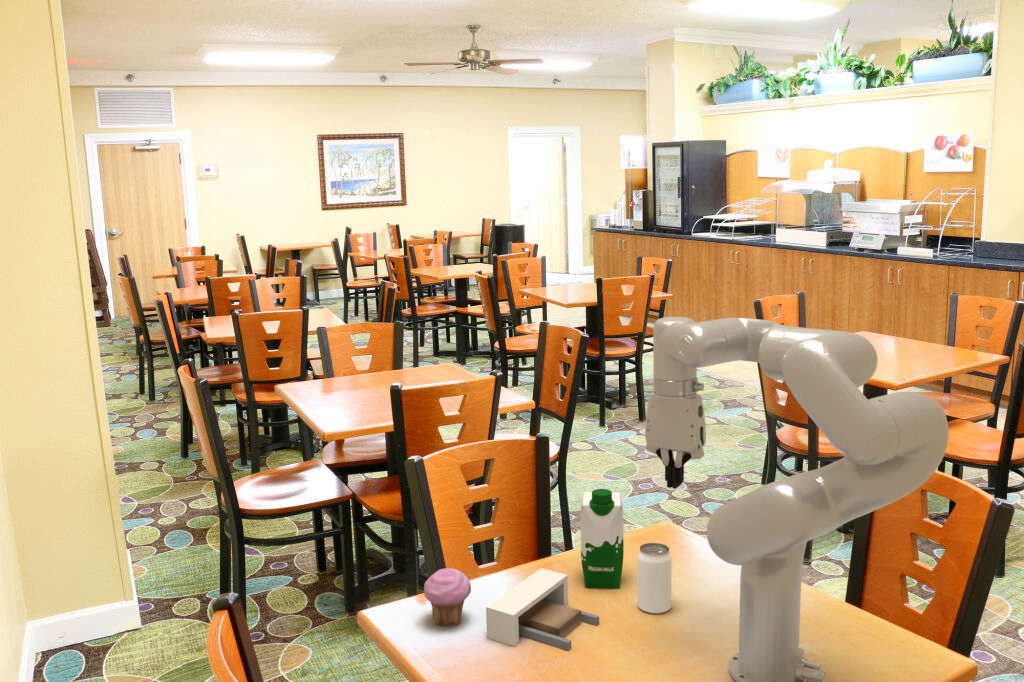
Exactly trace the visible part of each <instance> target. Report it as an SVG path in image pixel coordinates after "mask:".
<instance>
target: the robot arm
mask: <svg viewBox="0 0 1024 682" xmlns="http://www.w3.org/2000/svg"><path fill="white" fill-rule="evenodd" d="M652 330H653V335H652V336H653V337H652V338H653V339H652V340H653V342H652V343H653V345H652V346H653V349H652V351H653V354H652V355H653V357H652V358H653V361H652V362H653V367H652V368H653V371H652V372H653V374H652V375H653V378H652V379H653V386H652V387H653V390H652V392H650V394H649V396H648V397H649V398H648V401H647V403H648V404H647V408H646V409H647V410H646V417H645V429H644V432H645V433H644V434H645V436H644V439H645V443H646V445H645V450H646V451H647V452H650V453H652V454H655V455H656V456H657V457H658V458H659V459H660V461H661V462H662V465H663V466H664V481H666V487H667V489H668V488H669V489H671V488H672V489H675V490H676V489H678V488H679V487H680V486H681V485H682V484H684V483H683V482H684V480H685V464H686V463H688V462H689V461H690V460H699V459H702V458H703V457H705V452H704V448H703V447H704V446H705V445H706V443H707V440H706V439H707V433H706V432H707V431H706V416H705V410H704V409H705V408H704V403H703V398H702V395H701V393H698V392H700V391H701V392H703V391H704V390H705V384H704V383H703V382H700V381H699V380H698V379H699V378H698V377H697V376H698V375H697V373H698V372H697V371H698V369H699V368H701V369H702V368H706V367H710V366H711V367H712V366H715V365H719V364H724V363H731V362H737V361H738V362H739V361H744V362H750V363H751V362H753V363H756V364H757V363H758V364H759V367H760V368H761V370H762V371H763V373H764V374H765V376H766V377H768V378H769V379H772V380H774V381H781V382H785V384H786V386H787V388H788V390H789V391H790V393H791V394H792V396H793V397H794V399H795V400H796V401H797V402H798V404H799V405H800V407H801V408H802V409H803V410H804V411H805V413H806V414H807V415H808V416H809V418H810V419H811V420H812V421H813V422H814V424H815V425H816V426H817V428H818V429H819V430H820V431H821V433H822V434H823V435H824V436H825V437H826V438H827V440H828V441H829V443H830V444H831V445H832V446H833V447H834V448H835V450H837V452H838V453H840V454H841V455H842V456H843V457H841V459H838V460H836V461H834V462H831V463H829V464H827V465H824V466H822V467H819V468H816V469H812V470H808V471H803V472H800V473H799V472H798V473H796V474H792V475H790V476H787V477H784V478H781V479H778V480H775V481H773V482H769V483H767V484H765V485H762V486H760V487H758V488H756V489H754V490H752V491H750V492H748V493H745V494H744V495H741V496H739V497H737V498H735V499H733V500H731V501H729V502H727V503H725V504H722V505H720V506H719V507H718V508H716V509H715V510H714V511H713V512H712V514H711V515H710V517H709V520H708V522H707V526H706V537H707V541H708V544H709V545H708V546H709V547H710V549H711V551H712V552H713V553H714V554H715V556H717V557H718V558H719V559H720V560H722V561H723V562H725V563H727V564H730V565H734V566H741V567H740V575H739V576H740V580H739V585H740V586H739V619H738V620H739V621H738V622H739V623H738V625H739V628H738V629H739V630H738V631H739V632H738V652H736V653H734V654H733V656H731V657H730V659H729V662H728V671H729V675H730V676H731V678H732V679H733V680H734V681H735V682H808V681H811V682H825V680H826V672H825V671H824V670H822V664H821V663H817V662H814V661H813V662H812V661H808V660H807V658H805V657H804V656H805V652H804V651H805V649H802V648H800V626H801V625H800V624H801V601H802V600H801V599H802V598H801V595H802V576H803V575H802V574H803V565H804V556H805V552H806V547H807V543H808V542H809V541H812V540H814V539H816V538H819V537H822V536H823V535H827V534H828V533H831V532H832V531H835V530H836V529H838V528H840V527H841V526H842V525H843V526H844V524H847V523H848V522H851V521H853V520H856V519H857V518H861V517H863V516H865V515H868V514H870V513H872V512H874V511H877V510H879V509H881V508H884V507H886V506H889V505H890V504H892V503H895V502H897V501H899V500H901V499H903V498H904V497H907V496H908V495H910V494H912V493H913V492H914V491H916V490H917V489H918V488H920V487H922V485H923V484H925V482H927V481H928V480H929V478H931V477H932V476H933V475H934V473H935V472H936V471H937V469H938V468H939V467H940V464H941V463H942V462H943V459H944V457H945V453H946V451H947V446H948V442H949V423H948V418H947V415H946V412H945V411H944V408H943V407H942V406H941V405H940V403H939V402H938V401H937V400H935V399H934V398H932V397H931V396H929V395H928V394H924V393H921V392H916V391H899V392H898V391H897V392H893V393H889V394H885V395H883V394H882V395H880V396H876V397H871V398H870V399H868V398H867V396H865V394H863V392H862V391H861V390H860V389H859V388H860V387H862V386H863V385H865V384H866V383H868V382H869V381H870V380H871V378H872V377H873V376H874V374H875V372H876V371H877V367H878V354H877V351H876V349H875V347H874V344H872V343H871V341H869V340H868V339H867V338H865V336H862V335H860V334H858V333H857V334H856V333H855V332H850V331H843V330H842V331H841V330H835V329H823V328H812V327H811V328H810V327H800V326H791V325H784V324H781V323H778V322H776V321H773V320H766V319H759V318H758V319H757V318H750V317H749V318H748V317H726V318H718V319H712V320H711V319H709V320H704V321H698V322H696V321H695V320H694V319H692V318H689V317H684V316H666V317H661V318H658V319H657V320H655V322H654V324H653V329H652ZM697 368H698V369H697ZM674 451H675V452H676V454H674Z"/></svg>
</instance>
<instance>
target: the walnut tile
mask: <svg viewBox="0 0 1024 682" xmlns="http://www.w3.org/2000/svg"><path fill="white" fill-rule="evenodd" d="M581 611H582V609H581V610H580V609H578V608H574V607H570V606H568V605H566V606H564V605H560V604H556V603H553V602H549V601H546V600H542V599H541V600H540V601H539V602H538V603H536V604H535V605H534V606H532V607H531V608H530V609H528V610H527V611H526V612H524V613H523V614H522V615H520V616H519V617H518V624H520V625H523V626H526V627H529V628H533V629H536V630H539V631H542V632H546V633H549V634H552V635H555V636H559V637H562V638H565V639H566V637H567V636H568V635H569V634H570V633H572V632H573V631H574V630H575V629H576V628H578V627H579V626H580V625H581V624H582V621H581Z"/></svg>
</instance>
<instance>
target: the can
mask: <svg viewBox="0 0 1024 682" xmlns="http://www.w3.org/2000/svg"><path fill="white" fill-rule="evenodd" d="M638 551H639V552H638V554H637V575H636V576H637V606H638V608H639V609H640V610H641V611H643V612H644V613H647V614H651V615H659V614H660V615H661V614H664V613H666V612H669V610H671V608H672V567H673V566H672V564H673V563H672V561H673V560H672V555H671V552H670V547H669V546H668V545H666V544H664V543H660V542H646V543H643V544H642V545H640V546H639V550H638Z"/></svg>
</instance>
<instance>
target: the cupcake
mask: <svg viewBox="0 0 1024 682" xmlns="http://www.w3.org/2000/svg"><path fill="white" fill-rule="evenodd" d="M423 585H424V586H423V593H424V597H425V598H426V600H428V602H430V604H431V611H432V613H431V614H432V619H433V622H434V623H435V624H436V625H440V626H445V625H446V626H447V625H449V626H450V625H452V626H457V625H460V623H461V622H462V615H463V614H462V613H463V608H464V603H465V600H466V599H467V598H468V597H469V596H470V594H471V592H472V585H471V581H470V579H469V578H468V577H467V575H466V574H465V573H463V572H461V571H460V570H459V569H455V568H450V567H449V568H447V567H446V568H441V569H438V570H437V571H435V572H434V573H433V574H431V575H430V576H429V577H428V579H427V580H426V581H425V582H424V584H423Z"/></svg>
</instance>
